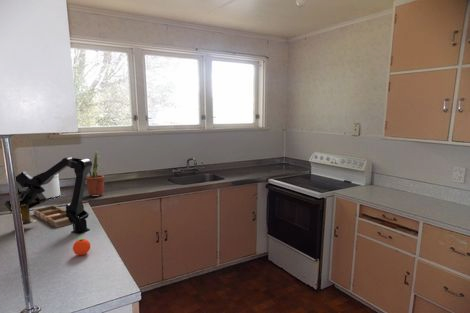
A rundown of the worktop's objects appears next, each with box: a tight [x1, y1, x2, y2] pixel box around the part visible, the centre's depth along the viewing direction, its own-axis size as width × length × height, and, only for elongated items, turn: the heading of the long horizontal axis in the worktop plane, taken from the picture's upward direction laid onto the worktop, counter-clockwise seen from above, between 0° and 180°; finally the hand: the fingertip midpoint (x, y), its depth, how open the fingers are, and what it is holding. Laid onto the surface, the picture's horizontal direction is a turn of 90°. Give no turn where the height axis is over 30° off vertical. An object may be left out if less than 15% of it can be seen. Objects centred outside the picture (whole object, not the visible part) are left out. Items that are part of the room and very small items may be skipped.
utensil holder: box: [41, 173, 61, 198], centre depth 223 cm, size 15×15×18 cm
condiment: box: [20, 205, 37, 226], centre depth 160 cm, size 7×8×12 cm
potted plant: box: [86, 150, 105, 196], centre depth 222 cm, size 17×16×35 cm
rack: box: [32, 204, 73, 229], centre depth 178 cm, size 37×12×3 cm, turn 50°
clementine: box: [72, 237, 91, 256], centre depth 129 cm, size 8×7×7 cm
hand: (20, 210), depth 161 cm, fingers closed on condiment, 6 cm apart
